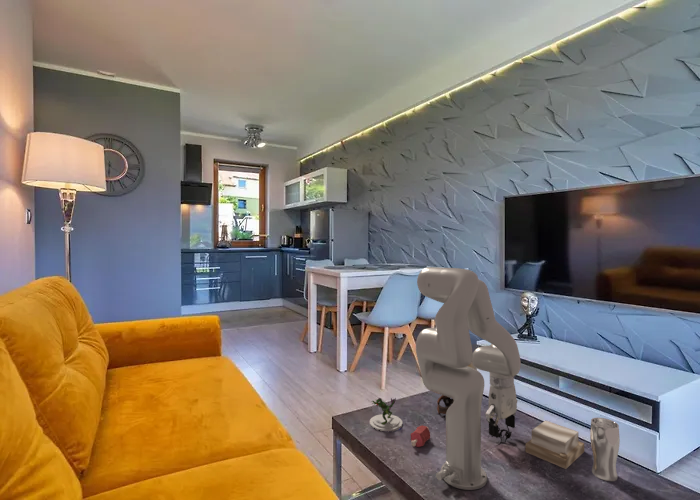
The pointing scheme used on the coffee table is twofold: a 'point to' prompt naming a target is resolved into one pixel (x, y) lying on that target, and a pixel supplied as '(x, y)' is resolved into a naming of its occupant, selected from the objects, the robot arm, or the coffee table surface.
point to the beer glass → (604, 448)
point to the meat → (420, 436)
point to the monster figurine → (385, 418)
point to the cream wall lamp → (555, 444)
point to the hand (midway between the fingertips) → (502, 431)
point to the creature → (504, 435)
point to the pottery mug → (447, 402)
